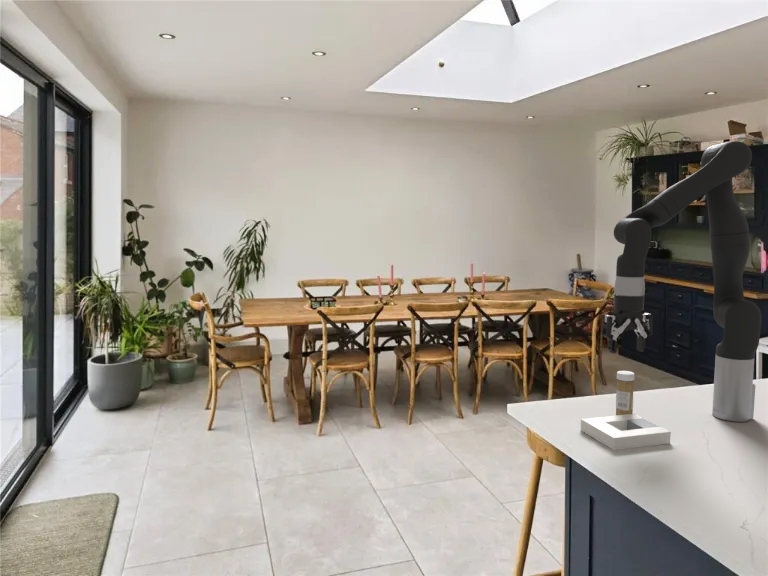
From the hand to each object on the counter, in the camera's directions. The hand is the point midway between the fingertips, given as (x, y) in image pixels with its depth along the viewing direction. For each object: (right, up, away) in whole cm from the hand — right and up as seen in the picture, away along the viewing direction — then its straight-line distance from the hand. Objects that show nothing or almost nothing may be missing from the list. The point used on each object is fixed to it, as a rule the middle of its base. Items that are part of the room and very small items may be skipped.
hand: (626, 352), depth 162 cm
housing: (-5, -20, -10) cm, 23 cm away
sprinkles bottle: (0, -19, +2) cm, 19 cm away
